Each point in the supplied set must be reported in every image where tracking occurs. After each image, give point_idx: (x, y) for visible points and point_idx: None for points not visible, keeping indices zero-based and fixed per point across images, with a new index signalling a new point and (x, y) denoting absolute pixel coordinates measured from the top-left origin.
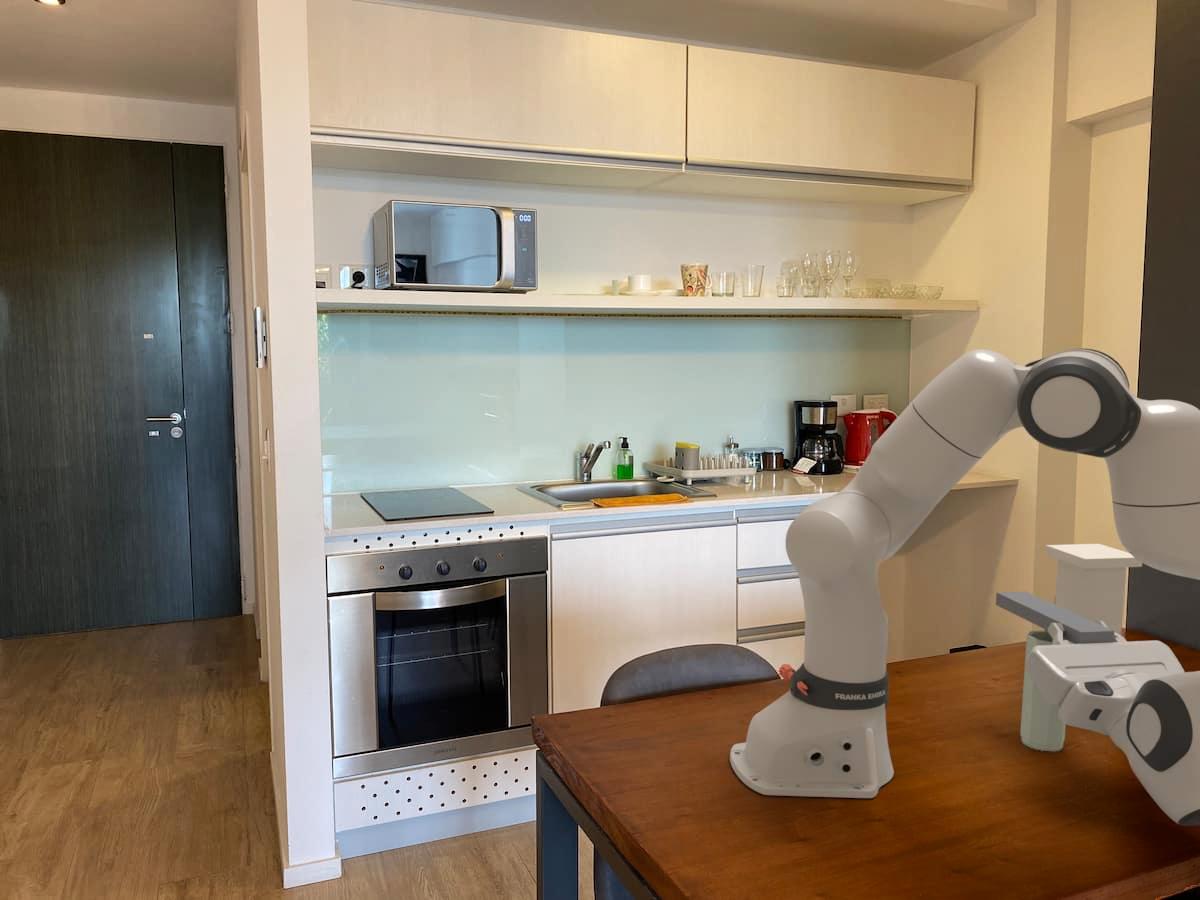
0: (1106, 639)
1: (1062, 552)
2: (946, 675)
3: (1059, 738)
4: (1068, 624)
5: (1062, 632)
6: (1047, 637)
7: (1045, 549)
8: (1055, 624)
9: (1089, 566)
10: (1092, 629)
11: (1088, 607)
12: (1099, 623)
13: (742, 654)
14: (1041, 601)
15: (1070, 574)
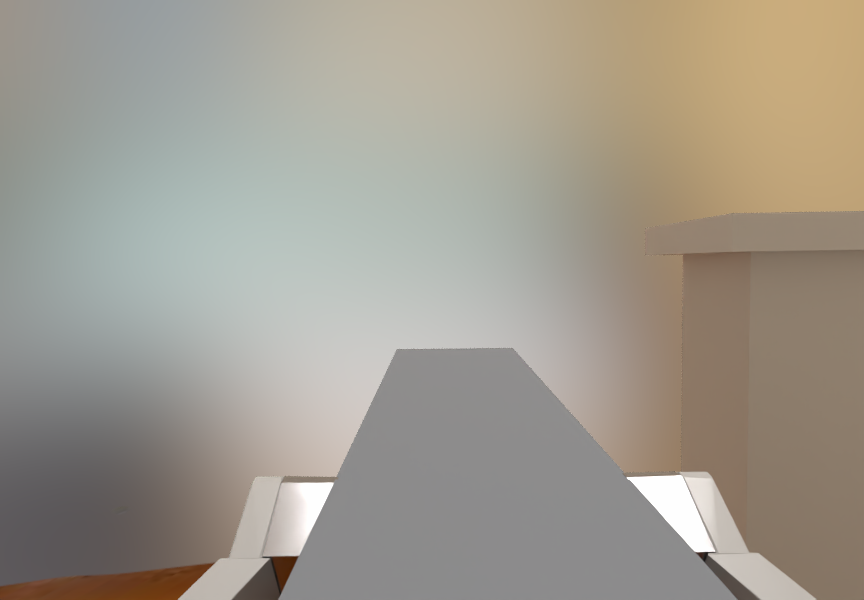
0: None
1: (677, 227)
2: None
3: None
4: (362, 495)
5: (255, 573)
6: None
7: (645, 240)
8: (266, 490)
9: (753, 243)
10: (489, 573)
11: (767, 412)
12: (670, 492)
13: (124, 508)
14: (502, 370)
15: (710, 302)
